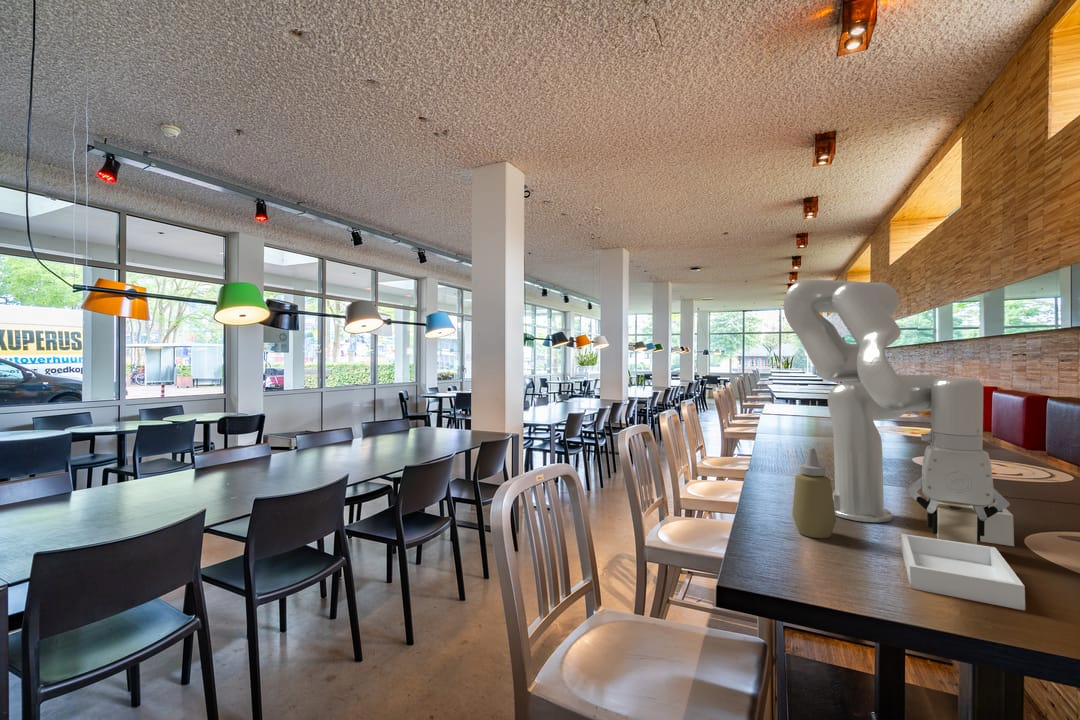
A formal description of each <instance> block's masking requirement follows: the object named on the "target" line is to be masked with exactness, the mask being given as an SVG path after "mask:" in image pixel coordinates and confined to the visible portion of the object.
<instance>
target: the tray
mask: <svg viewBox="0 0 1080 720" xmlns="http://www.w3.org/2000/svg"><path fill="white" fill-rule="evenodd" d="M900 536H901V537H900V538H901V541H900V542H901V554H902V558H903V564H904V568H905V570H906V575H907V580H908V583H909V588H910V589H914V590H917V591H918V590H919V591H921V592H922V591H923V592H927V593H928V592H929V593H933V594H939V595H944V596H949V597H955V598H958V599H959V598H960V599H964V600H968V601H974V602H979V603H985V604H990V605H995V606H1000V607H1005V608H1009V609H1010V608H1011V609H1015V610H1020V611H1026V590H1025V588H1026V587H1025V585H1024V584H1023V582H1022V580H1020V577H1018V576H1017V574H1016V572H1015V571H1014V570H1013V569H1012V568H1011V566H1010V565H1009V563H1008V562H1007V561H1006V559H1005V558H1004V557H1003V556H1002V554H1001V553H1000V551H999V550H998V549H997V548H996V546H995V547H994V546H988V545H983V544H982V545H981V544H977V545H975V544H968V543H962V542H955V541H948V540H941V539H938V538H933V537H926V536H919V535H914V534H906V533H901V534H900Z"/></svg>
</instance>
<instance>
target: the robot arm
mask: <svg viewBox="0 0 1080 720" xmlns="http://www.w3.org/2000/svg"><path fill="white" fill-rule="evenodd" d="M899 302H900V297H899V294H898V293H897V291H896V289H895V288H894V287H893V286H892V285H890V284H888V283H884V282H871V281H855V280H853V281H852V280H841V279H840V280H838V279H837V280H835V279H834V280H832V279H806V280H801V281H797V282H796V283H793V284H792V285H791V286H789V287H788V290H787V291H786V292H785V296H784V299H783V310H784V311H783V312H784V315H785V319H786V321H787V323H788V325H789V326H790V328H791V330H792V331H793V332H794V334H795V335H796V336H797V338H798V339H799V341H800V342H801V344H802V346H803V348H804V350H805V352H806V354H807V355H808V358H809V360H810V361H811V364H813V367H814V368H815V370H816V372H817V374H818V375H819V376H820V377H821V379H823V380H824V381H827V382H833V383H838V384H836V385H835V386H833V387H832V388H831V390H829V393H828V396H827V406H828V411H829V415H830V418H831V420H830V421H831V425H832V432H833V433H832V434H833V463H834V489H833V492H832V494H833V501H834V508H835V515H836V517H839V518H843V519H846V520H851V521H857V522H863V523H887V522H890V521H892V520H893V513H892V512H891V511H890V510H888V509H886V508H885V499H884V497H885V496H884V466H883V465H884V462H883V459H884V458H883V441H882V437H881V433H880V432H879V430H878V427H877V426H876V424H875V422H874V421H886V420H895V419H898V418H900V417H902V416H903V415H904V414H906V412H929V411H930V430H929V432H927V433H921V435H920V439H921V441H923V442H924V441H925V442H928V443H929V444H930V445H927V446H926V448H925V450H924V452H923V453H924V454H923V458H922V459H923V460H922V466H921V467H922V468H921V477H920V478H918V479H917V480H916V481H915V482H913V483H912V484H910V485H909V486H907V488H905V491H906V494H907V495H909V496H910V497H911V498H913V499H914V501H916V502H917V503H918V504H919V505H920V506H921V507H923V509H924V510H926V527H927V528H929V529H930V530H931V533H932V534H933V535H936V534H937V521H938V515H937V513H936V507H937V505H938V503H939V502H943V503H951V504H958V505H966V506H969V505H972V506H973V508H974V511H975V512H976V514H977V542H981V541H980V536H984V526H985V521H986V520H987V518H989V517H991V516H992V515H994V514H996V513H997V512H998V511H1001V510H1003V509H1005V508H1006V509H1007V508H1009V507H1010V505H1011V504H1010V502H1009V501H1008V500H1007V499H1006V498H1005V497H1004V496H1002V494H1000V493H999V491H997V489H995V488H994V479H993V470H992V462H991V458H990V454H989V452H988V451H985V450H984V449H983V443H984V442H983V437H984V436H983V434H984V432H983V431H984V426H983V425H984V386H983V383H982V382H981V381H980V380H977V379H975V378H965V377H942V376H936V375H930V374H916V375H915V374H902V375H901V374H898V373H897V372H896V371H895V370H894V368H893V366H892V365H891V363H890V362H889V361H888V358H887V356H886V348H888V347H889V346H891V345H892V344H893V343H894V342H896V341H897V340H898V339H899V338H900V337H901V333H902V330H901V328H900V326H899V325H898V323H897V322H896V321H895V319H894V317H892V314H894V312H896V310H897V309H898V307H899ZM821 313H826V314H827V313H837V315H838V316H839V318H840V319H841V321H842V323H843V324H844V326H845V327H846V329H847V330H848V331H849V333H850V335H851V337H852V338H853V339H854V341H855V343H848V342H847V341H845V340H844V339H843V337H842V335H840V333H839V331H838V329H837V328H836V327H835V325H834V324H833V323H832V322H831V321H829V320H828V318H825V317H824V316H823V315H822V314H821ZM919 490H922V493H923V496H924V497H923V496H922V495H921V494H919V493H918V492H919ZM925 497H926V498H927V499H925ZM994 501H995V502H994ZM983 506H986V507H985V508H983Z"/></svg>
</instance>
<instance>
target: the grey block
mask: <svg viewBox="0 0 1080 720" xmlns="http://www.w3.org/2000/svg"><path fill="white" fill-rule="evenodd" d="M968 506H971V507H972V508H973V506H972V505H968ZM985 507H986V506H983V508H985ZM973 509H974V508H973ZM1014 533H1015V531H1014V514H1012V513H1011V512H1010V511H1009V510H1008V509H1007V508H1005V509H1003V510H1001V511H998V512H997V513H996V514H994V515H992V516H991V517H989V518H987V520H986V521H985V526H984V536H980V541H979V542H982V543H989V544H995V545H1004V546H1009V547H1010V546H1011V547H1015V536H1014V535H1015V534H1014Z"/></svg>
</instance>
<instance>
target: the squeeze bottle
mask: <svg viewBox="0 0 1080 720" xmlns="http://www.w3.org/2000/svg"><path fill="white" fill-rule="evenodd" d="M799 467H800V469H799V472H800V473H799V474H797V475H795V480H794V482H795V483H794V491H793V492H794V493H793V501H792V502H793V504H792V505H793V506H792V518H793V521H794V523H795V527H796V529H797V532H798V533H799V534H801V535H803V536H806V537H808V538H809V537H810V538H813V539H814V538H815V539H828V538H831V536H832V534H833V531H834V528H835V525H836V522H837V516H836V515H835V508H834V501H833V494H832V493H833V488H832V487H833V486H832V481H831V479H830V478H829V477H828V476H826V466H824V465H821V464H820V463H819V459H818V454H817V450H816V448H812V447H809V448H808V451H807V456H806V460H805V463H803V464H800V465H799Z"/></svg>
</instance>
